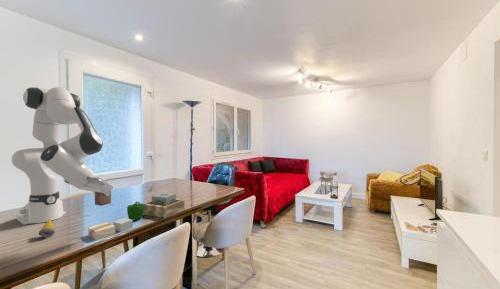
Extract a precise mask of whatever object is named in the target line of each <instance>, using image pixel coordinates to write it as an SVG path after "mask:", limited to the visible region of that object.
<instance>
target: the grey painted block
mask: <svg viewBox="0 0 500 289" xmlns="http://www.w3.org/2000/svg"><path fill="white" fill-rule="evenodd" d="M133 221H134V220H131V219H129V218H127V217H124V218H120V219H118V220H114V221H113V223H112V225H114V226H115V231H118V232H121V233H122V232H125V231H127V230H129V229H132V228H134V225H133Z"/></svg>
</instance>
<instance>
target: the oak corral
mask: <svg viewBox="0 0 500 289" xmlns="http://www.w3.org/2000/svg"><path fill="white" fill-rule="evenodd" d="M185 202H186V201H185V199H181V198H176V202H175V203H172V204H170V205H167V206H158V205H152V200H150V201H147V202H144V203H141V204H142V205H143V206H144V212H143V215H147V216H151V217H152V216H153V217H156V216H157V218H161V217H163V218H162V219H166V218H168V217H170V216H173V215H175V214H177V213H179V211H180V212H181V210H182V211H184V210H185V206H186V205H185ZM183 209H184V210H183Z"/></svg>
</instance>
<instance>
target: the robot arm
mask: <svg viewBox="0 0 500 289" xmlns="http://www.w3.org/2000/svg"><path fill="white" fill-rule="evenodd" d="M22 99H23V102H24V104H25V106H26V107H28V108H29V109H31V110H35V112H34V116H33V123H32V124H33V125H32V133H31V134H32V136H33V138H34V139H35V140H37V141H39V142H41V143H42V145H43V147H37V148H35V147H34V148H32V147H31V148H25V149H18V150H16V151H15V152H13V154H12V156H11V163H12V165H13V166H14V168H16V169H18V170H20V171H22V172H23V173H24V174H25V175H26V176H27V177H28V180H29V185H30V194H29V197H28V202H27V203H26V204H25V205H24V206H23V207H22V209H20V210H19V213H20V215H19V216H17V217H16V220H17V221H18V222H19V223H20V224H22V225H30V224H40V223H45V222H46V223H47V221H48V220H49V219H50V220H51V221H55V220H58V219H60V218H62V217H63V216H64V215H66V211H64V207H63V200H62V199H60V191H59V178H58V177H57V176H56V175H58V176H60V177H61V178H63V182H64V183H66V184H68V185H71V186H73V187H74V188H77V189H79V190H81V191H86V192H87V191H88V192H92V193H94V194H95V192H100V193H104V195H105V196H109V195H110V191H111V192H112V190H113V189H114V186H113V185H112V184H111V183H110V182H108V181H107V180H105V179H104V178H102V177H97V176H94V175H95V172H94V171H93V170H92V169H91V168H90V167H89V166H88V165H86V164H85V163H83V162H81V160H83V159H85V158H87V157H89V156H92V155H94V154H97V153H99V152H101V151H102V148H103V144H104V142H103V140H102V139H101V137H100V135H99V134H98V132H97V131H96V129H95V128H94V125H93V124H92V121H91V119H90V118H89V116H88V115H87V114H86V112H85V111H84V110H83V109H82V108H81V104H82V103H81V99H80V97H79V96H78V95H76V94H75V93H72V92H70V91H69V90H67V89H66V88H64V87H59V86H58V87H51V88H50V89H47V88H40V87H28V88H27V89H26V90H25V91H24V93H23V95H22ZM74 124H77V126H78V127H79V130H80V132H79V133H78V134H77V135H76V136H73V137H71V138H69V139H66V140H64V141H63V142H62V139H61V128H62V125H65V126H67V125H68V126H69V125H74ZM47 168H48V169H49V170H50V171H52V172H53V173H54V174H56V175H54V174H51V173H49V172H48V170H47Z"/></svg>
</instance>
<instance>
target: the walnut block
mask: <svg viewBox="0 0 500 289" xmlns="http://www.w3.org/2000/svg"><path fill="white" fill-rule="evenodd" d="M110 204H112V190H111V191H110V195H109V196H105V195H104V193H100V192H95V193H94V205H95V206H100V207H102V206H105V205H110Z"/></svg>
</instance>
